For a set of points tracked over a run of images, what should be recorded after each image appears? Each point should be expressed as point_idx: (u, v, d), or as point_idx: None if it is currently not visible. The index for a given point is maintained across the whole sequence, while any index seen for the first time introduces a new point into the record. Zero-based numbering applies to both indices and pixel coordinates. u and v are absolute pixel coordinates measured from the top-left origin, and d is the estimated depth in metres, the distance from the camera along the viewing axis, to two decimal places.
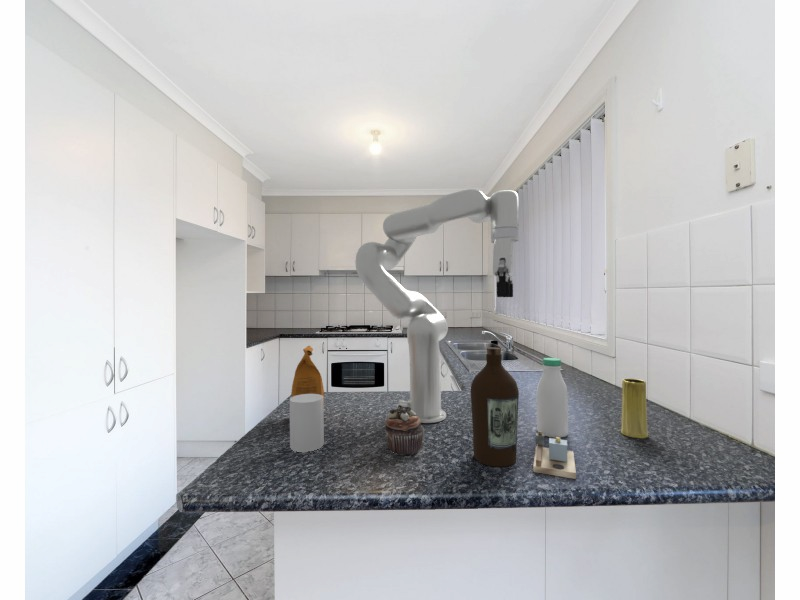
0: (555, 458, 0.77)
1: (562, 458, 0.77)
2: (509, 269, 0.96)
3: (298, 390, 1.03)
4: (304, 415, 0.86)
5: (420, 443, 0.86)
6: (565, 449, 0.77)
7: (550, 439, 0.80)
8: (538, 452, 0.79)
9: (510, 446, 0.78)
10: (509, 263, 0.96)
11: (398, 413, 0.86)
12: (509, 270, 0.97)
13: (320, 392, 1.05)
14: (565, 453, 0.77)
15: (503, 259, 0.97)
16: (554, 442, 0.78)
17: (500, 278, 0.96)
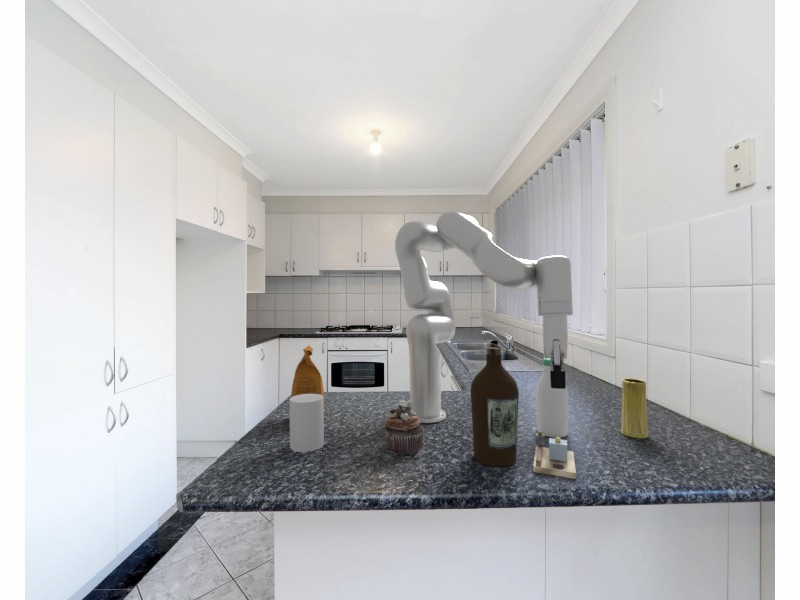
0: (555, 458, 0.77)
1: (562, 458, 0.77)
2: (565, 353, 0.79)
3: (298, 390, 1.03)
4: (304, 415, 0.86)
5: (420, 443, 0.86)
6: (565, 449, 0.77)
7: (550, 439, 0.80)
8: (538, 452, 0.79)
9: (510, 446, 0.78)
10: (564, 346, 0.79)
11: (398, 413, 0.86)
12: (565, 355, 0.79)
13: (320, 392, 1.05)
14: (565, 453, 0.77)
15: (557, 346, 0.80)
16: (554, 442, 0.78)
17: (555, 368, 0.82)
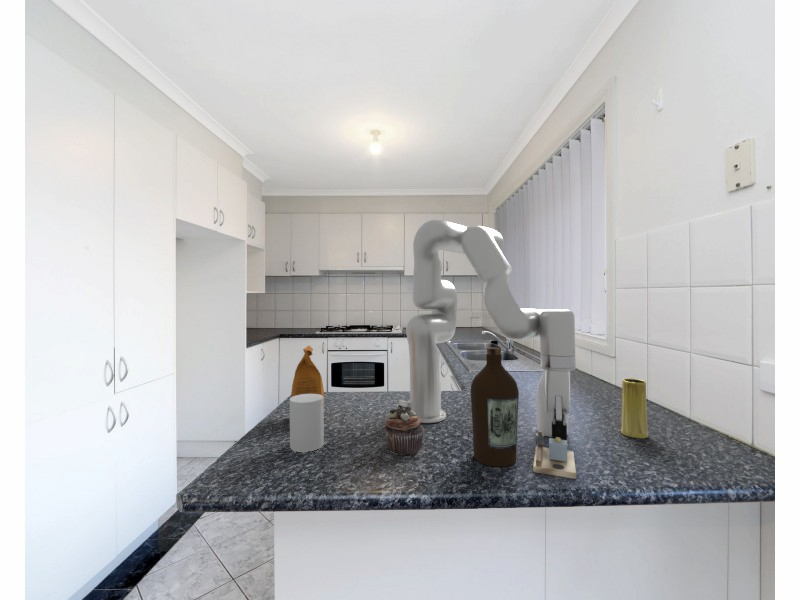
0: (555, 458, 0.77)
1: (562, 458, 0.77)
2: (567, 410, 0.79)
3: (298, 390, 1.03)
4: (304, 415, 0.86)
5: (420, 443, 0.86)
6: (565, 449, 0.77)
7: (550, 439, 0.80)
8: (538, 452, 0.79)
9: (510, 446, 0.78)
10: (566, 403, 0.79)
11: (398, 413, 0.86)
12: (567, 411, 0.79)
13: (320, 392, 1.05)
14: (565, 453, 0.77)
15: (560, 402, 0.80)
16: (554, 442, 0.78)
17: (557, 422, 0.82)
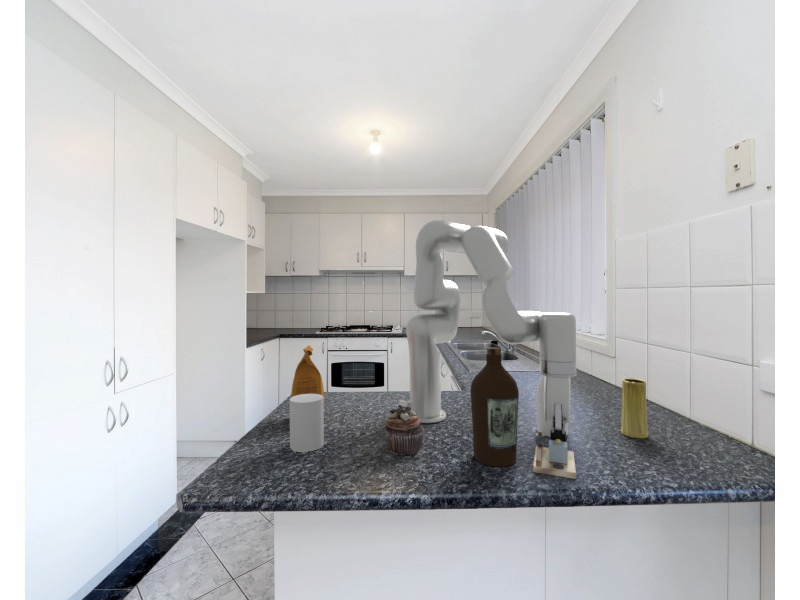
0: (555, 460, 0.76)
1: (562, 460, 0.76)
2: (567, 418, 0.76)
3: (298, 390, 1.03)
4: (304, 415, 0.86)
5: (420, 443, 0.86)
6: (565, 451, 0.76)
7: (550, 441, 0.79)
8: (538, 452, 0.79)
9: (510, 446, 0.78)
10: (566, 411, 0.76)
11: (398, 413, 0.86)
12: (567, 420, 0.76)
13: (320, 392, 1.05)
14: (565, 455, 0.76)
15: (559, 410, 0.77)
16: (554, 443, 0.77)
17: (556, 430, 0.79)
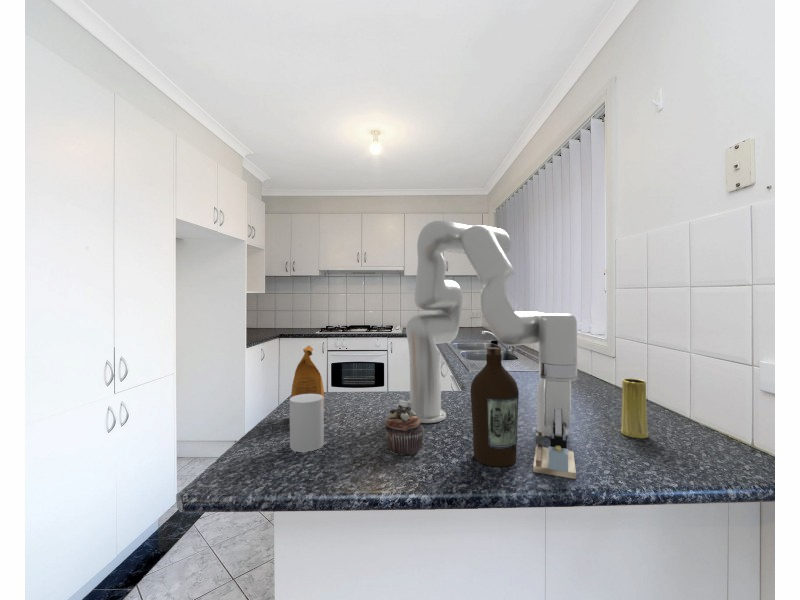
0: (555, 468, 0.73)
1: (562, 468, 0.72)
2: (567, 424, 0.72)
3: (298, 390, 1.03)
4: (304, 415, 0.86)
5: (420, 443, 0.86)
6: (566, 459, 0.72)
7: (550, 447, 0.75)
8: (538, 452, 0.79)
9: (510, 446, 0.78)
10: (567, 416, 0.72)
11: (398, 413, 0.86)
12: (567, 425, 0.72)
13: (320, 392, 1.05)
14: (566, 463, 0.72)
15: (559, 416, 0.73)
16: (553, 450, 0.74)
17: (556, 437, 0.75)
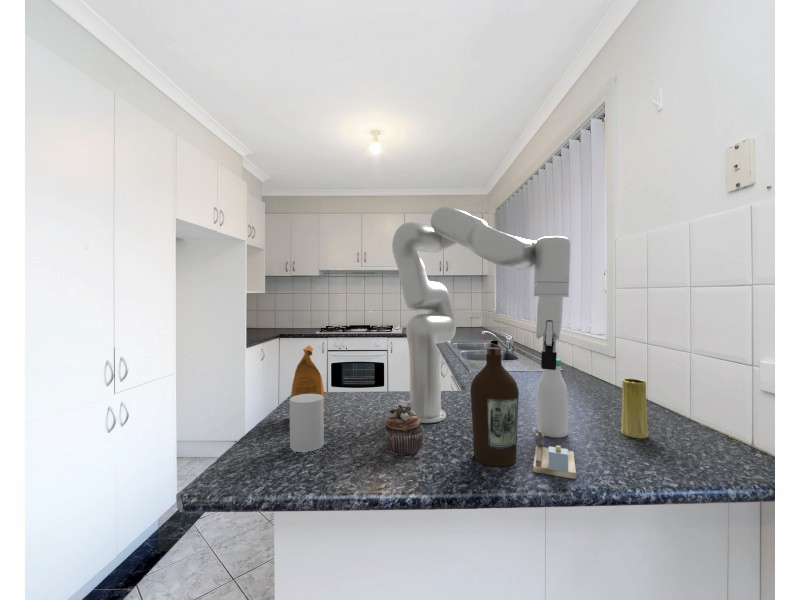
0: (555, 468, 0.73)
1: (562, 468, 0.72)
2: (557, 335, 0.79)
3: (298, 390, 1.03)
4: (304, 415, 0.86)
5: (420, 443, 0.86)
6: (566, 459, 0.72)
7: (550, 448, 0.75)
8: (538, 452, 0.79)
9: (510, 446, 0.78)
10: (557, 327, 0.79)
11: (398, 413, 0.86)
12: (557, 336, 0.79)
13: (320, 392, 1.05)
14: (566, 463, 0.72)
15: (550, 327, 0.80)
16: (553, 450, 0.74)
17: (547, 349, 0.82)
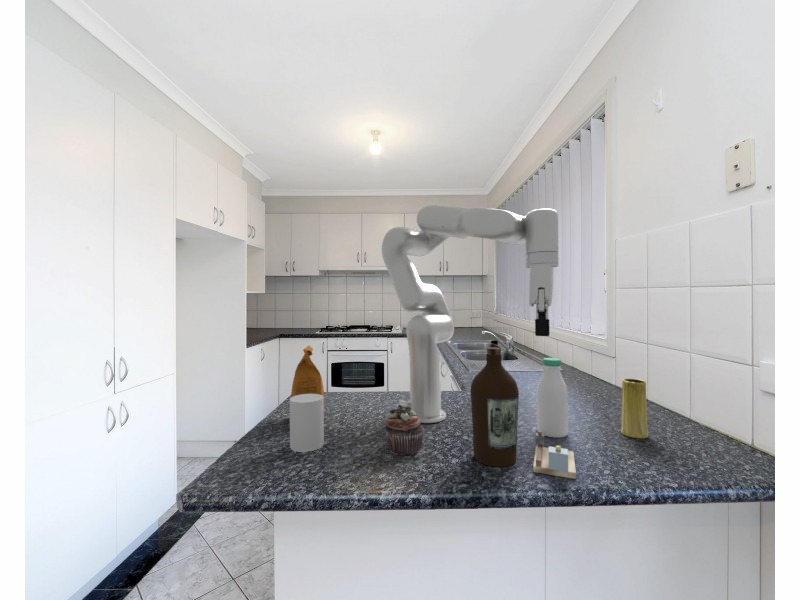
0: (555, 468, 0.73)
1: (562, 468, 0.72)
2: (549, 300, 0.83)
3: (298, 390, 1.03)
4: (304, 415, 0.86)
5: (420, 443, 0.86)
6: (566, 459, 0.72)
7: (550, 448, 0.75)
8: (538, 452, 0.79)
9: (510, 446, 0.78)
10: (549, 294, 0.83)
11: (398, 413, 0.86)
12: (549, 302, 0.84)
13: (320, 392, 1.05)
14: (566, 463, 0.72)
15: (542, 294, 0.84)
16: (553, 450, 0.74)
17: (540, 316, 0.87)
